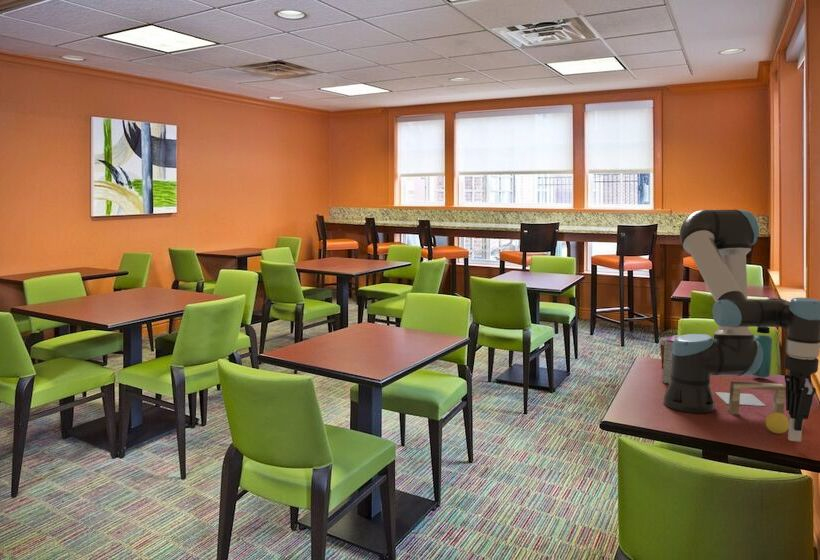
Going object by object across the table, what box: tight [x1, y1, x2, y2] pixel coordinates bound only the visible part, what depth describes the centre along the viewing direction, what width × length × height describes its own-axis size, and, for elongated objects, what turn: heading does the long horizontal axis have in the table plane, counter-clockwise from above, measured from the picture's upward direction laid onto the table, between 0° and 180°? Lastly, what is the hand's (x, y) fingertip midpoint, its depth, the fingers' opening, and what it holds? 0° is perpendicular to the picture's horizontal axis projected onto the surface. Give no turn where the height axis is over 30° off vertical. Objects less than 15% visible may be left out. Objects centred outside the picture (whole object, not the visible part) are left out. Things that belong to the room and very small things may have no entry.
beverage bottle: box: [751, 327, 773, 378], centre depth 229 cm, size 6×7×20 cm
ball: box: [765, 413, 790, 435], centre depth 177 cm, size 6×6×6 cm
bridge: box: [728, 380, 786, 415], centre depth 192 cm, size 3×15×10 cm, turn 80°
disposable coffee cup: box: [659, 336, 671, 369], centre depth 242 cm, size 10×10×12 cm
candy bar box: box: [661, 334, 681, 385], centre depth 226 cm, size 11×5×16 cm, turn 138°
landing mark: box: [714, 391, 767, 407], centre depth 206 cm, size 12×12×1 cm
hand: (794, 440), depth 166 cm, fingers closed
